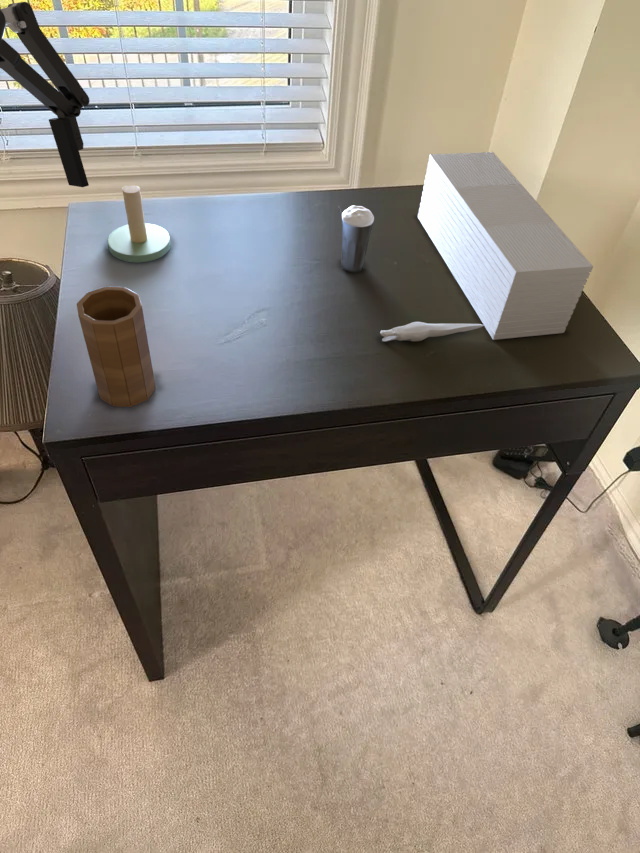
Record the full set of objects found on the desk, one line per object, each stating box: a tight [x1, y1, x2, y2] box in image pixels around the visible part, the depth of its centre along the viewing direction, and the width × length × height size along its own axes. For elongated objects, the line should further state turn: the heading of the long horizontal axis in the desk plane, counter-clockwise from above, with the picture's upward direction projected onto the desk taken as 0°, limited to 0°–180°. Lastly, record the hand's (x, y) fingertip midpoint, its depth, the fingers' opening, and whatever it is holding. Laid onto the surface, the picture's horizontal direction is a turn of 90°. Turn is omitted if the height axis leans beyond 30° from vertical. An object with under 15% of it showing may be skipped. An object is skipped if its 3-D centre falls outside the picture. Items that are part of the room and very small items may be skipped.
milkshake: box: [337, 204, 375, 273], centre depth 92 cm, size 4×5×10 cm
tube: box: [76, 286, 157, 408], centre depth 71 cm, size 6×7×12 cm
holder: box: [107, 184, 172, 264], centre depth 93 cm, size 9×9×9 cm
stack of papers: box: [417, 151, 594, 341], centre depth 94 cm, size 32×11×11 cm, turn 13°
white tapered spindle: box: [379, 321, 485, 342], centre depth 86 cm, size 15×3×2 cm, turn 103°
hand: (20, 203), depth 64 cm, fingers open, 13 cm apart
